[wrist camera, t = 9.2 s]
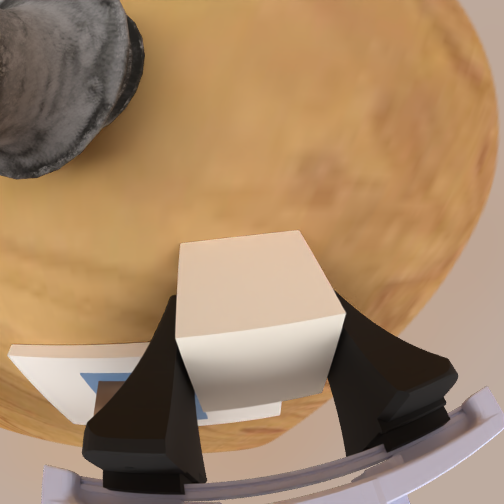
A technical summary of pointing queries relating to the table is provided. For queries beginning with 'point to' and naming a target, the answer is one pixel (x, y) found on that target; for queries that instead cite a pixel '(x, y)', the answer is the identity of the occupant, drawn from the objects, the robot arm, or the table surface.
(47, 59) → the grey tall round piece
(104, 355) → the board
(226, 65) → the table surface
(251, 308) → the cream block
